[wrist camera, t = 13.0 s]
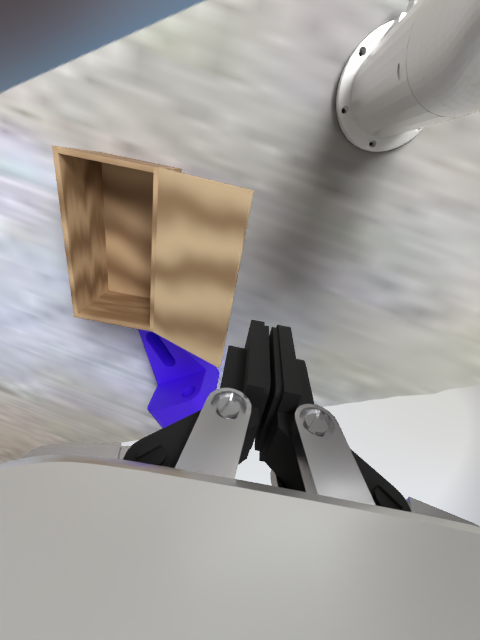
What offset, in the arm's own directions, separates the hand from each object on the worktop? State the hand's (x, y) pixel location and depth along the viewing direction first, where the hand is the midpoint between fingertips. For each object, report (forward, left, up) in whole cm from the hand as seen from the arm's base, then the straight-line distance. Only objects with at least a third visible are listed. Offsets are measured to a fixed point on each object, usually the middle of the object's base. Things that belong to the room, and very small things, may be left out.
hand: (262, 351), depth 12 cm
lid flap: (+6, -7, -22) cm, 24 cm away
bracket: (+27, -12, -35) cm, 45 cm away
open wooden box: (+6, -19, -35) cm, 40 cm away
